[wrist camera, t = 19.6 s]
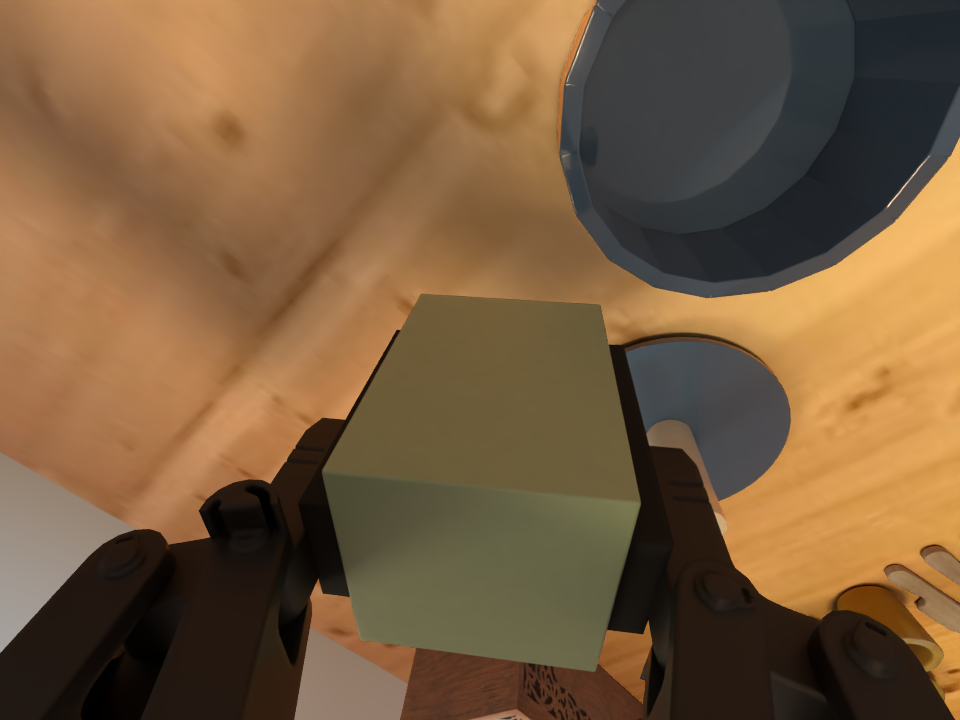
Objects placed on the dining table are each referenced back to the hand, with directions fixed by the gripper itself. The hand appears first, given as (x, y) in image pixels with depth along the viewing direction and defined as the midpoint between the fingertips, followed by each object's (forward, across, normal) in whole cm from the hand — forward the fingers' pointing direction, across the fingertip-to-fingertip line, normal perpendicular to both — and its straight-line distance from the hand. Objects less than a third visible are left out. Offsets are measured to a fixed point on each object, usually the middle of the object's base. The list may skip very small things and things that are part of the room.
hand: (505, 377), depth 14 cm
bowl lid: (+17, +11, -15) cm, 25 cm away
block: (0, 0, 0) cm, 0 cm away
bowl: (+17, +8, +6) cm, 20 cm away
